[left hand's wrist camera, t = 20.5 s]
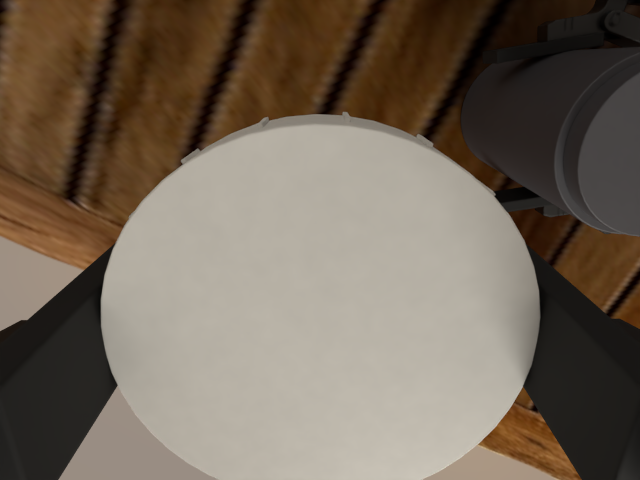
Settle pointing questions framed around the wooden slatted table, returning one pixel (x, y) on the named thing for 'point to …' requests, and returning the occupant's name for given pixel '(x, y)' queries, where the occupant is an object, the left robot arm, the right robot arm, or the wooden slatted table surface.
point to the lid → (320, 305)
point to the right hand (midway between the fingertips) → (491, 134)
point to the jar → (564, 131)
